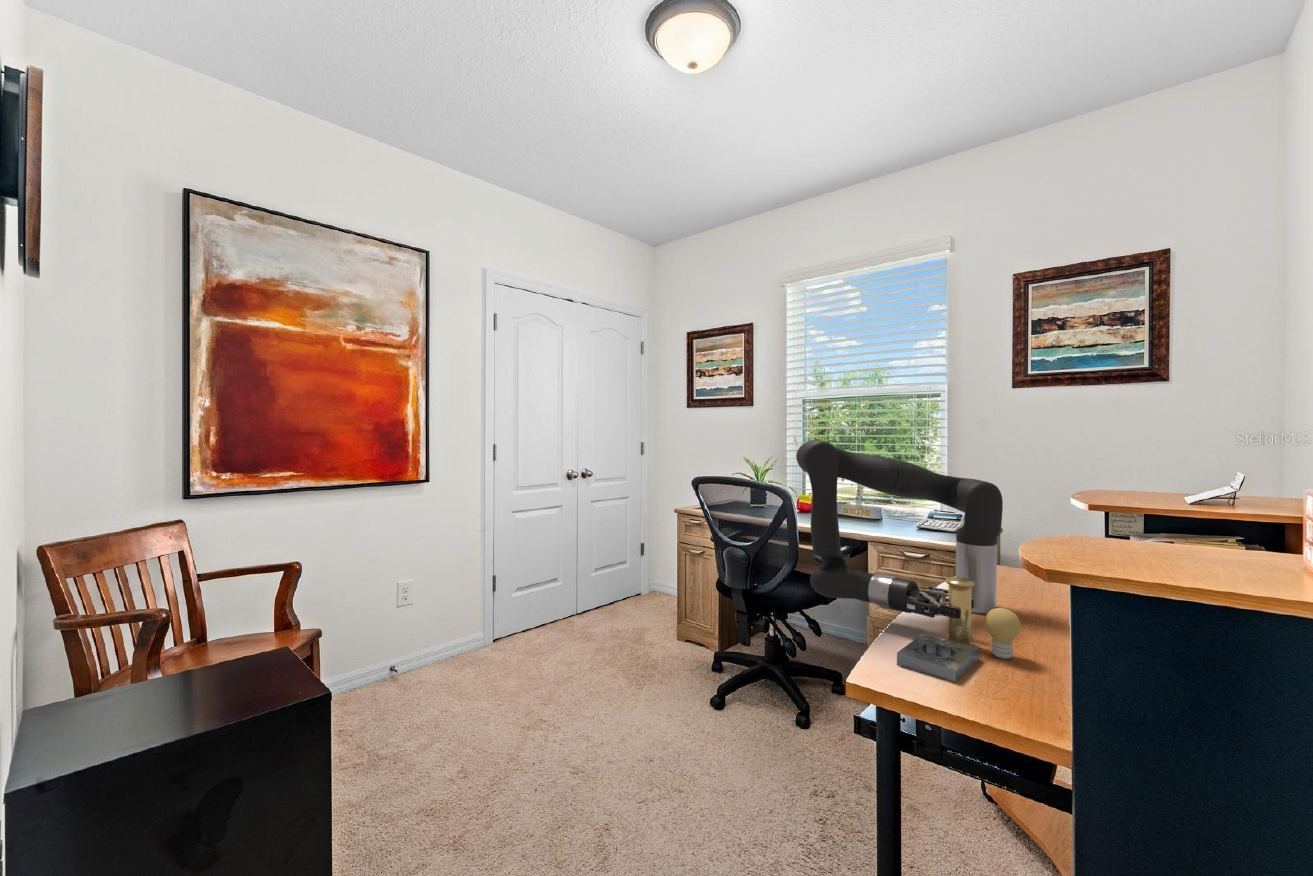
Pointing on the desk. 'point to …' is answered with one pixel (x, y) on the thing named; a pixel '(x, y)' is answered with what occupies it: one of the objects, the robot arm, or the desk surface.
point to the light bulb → (1002, 631)
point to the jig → (938, 657)
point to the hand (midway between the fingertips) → (967, 609)
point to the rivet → (960, 599)
